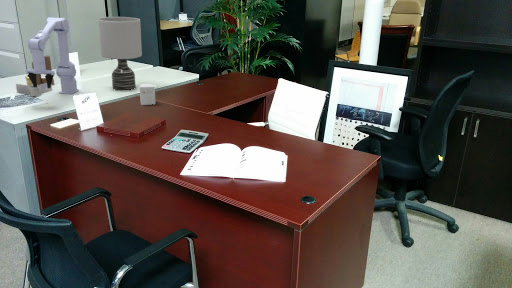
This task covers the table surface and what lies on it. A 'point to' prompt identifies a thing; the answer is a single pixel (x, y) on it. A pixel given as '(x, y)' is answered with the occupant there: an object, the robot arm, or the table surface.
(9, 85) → the table surface
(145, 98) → the small box
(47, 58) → the brown wooden frame
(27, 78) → the hinge pin
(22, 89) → the steel hinge
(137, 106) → the table surface
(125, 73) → the lamp
